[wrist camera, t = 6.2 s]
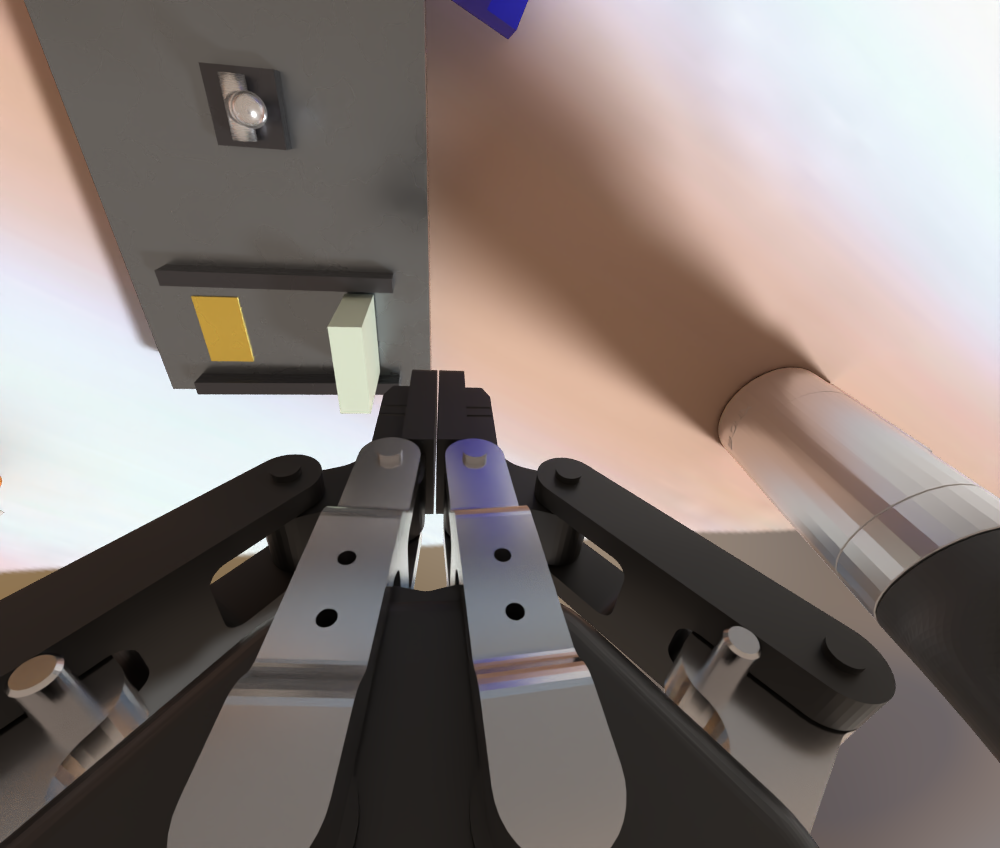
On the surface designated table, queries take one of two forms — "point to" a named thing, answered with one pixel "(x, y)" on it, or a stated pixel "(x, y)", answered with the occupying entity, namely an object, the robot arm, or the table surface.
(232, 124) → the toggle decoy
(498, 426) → the table surface
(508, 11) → the cable clip
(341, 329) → the pale green eraser block
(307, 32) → the panel
